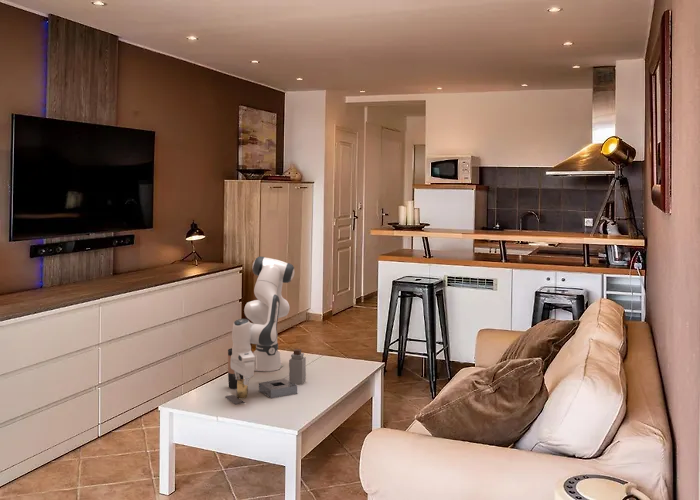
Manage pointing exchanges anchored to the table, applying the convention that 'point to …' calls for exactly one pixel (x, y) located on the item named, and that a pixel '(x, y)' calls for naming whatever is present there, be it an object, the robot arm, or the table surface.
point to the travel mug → (232, 373)
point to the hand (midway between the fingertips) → (241, 382)
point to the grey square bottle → (297, 367)
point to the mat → (234, 399)
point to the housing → (278, 388)
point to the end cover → (242, 389)
